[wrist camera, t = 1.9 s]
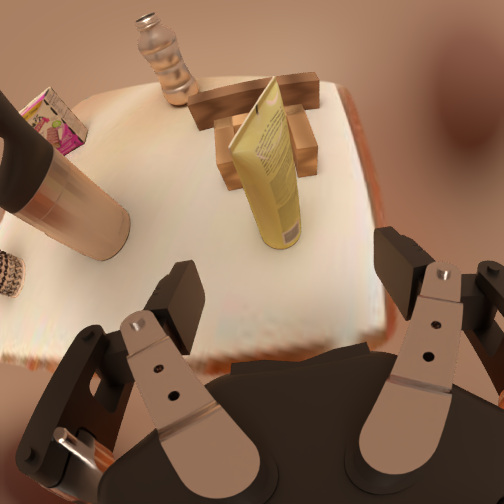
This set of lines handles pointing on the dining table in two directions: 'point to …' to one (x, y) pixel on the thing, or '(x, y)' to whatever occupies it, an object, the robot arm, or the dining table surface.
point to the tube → (268, 169)
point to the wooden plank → (252, 97)
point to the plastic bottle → (165, 59)
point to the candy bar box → (55, 121)
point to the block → (299, 137)
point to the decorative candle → (11, 274)
